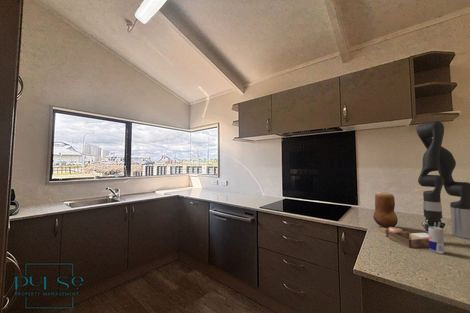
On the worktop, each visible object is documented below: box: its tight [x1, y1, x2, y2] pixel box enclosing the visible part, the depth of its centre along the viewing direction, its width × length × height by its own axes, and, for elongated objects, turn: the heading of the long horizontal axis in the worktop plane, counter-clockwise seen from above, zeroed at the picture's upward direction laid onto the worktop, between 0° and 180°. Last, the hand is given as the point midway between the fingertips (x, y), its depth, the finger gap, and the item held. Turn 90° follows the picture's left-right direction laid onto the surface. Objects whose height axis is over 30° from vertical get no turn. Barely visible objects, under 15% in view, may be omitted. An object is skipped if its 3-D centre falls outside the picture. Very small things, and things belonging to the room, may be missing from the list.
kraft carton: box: [409, 232, 429, 239], centre depth 111 cm, size 9×7×4 cm
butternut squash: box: [372, 191, 399, 229], centre depth 137 cm, size 14×13×25 cm
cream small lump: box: [388, 226, 404, 232], centre depth 122 cm, size 7×7×4 cm
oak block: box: [378, 227, 389, 237], centre depth 123 cm, size 4×4×4 cm
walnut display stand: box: [388, 231, 429, 249], centre depth 110 cm, size 12×12×4 cm
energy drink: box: [427, 226, 445, 255], centre depth 99 cm, size 5×5×12 cm
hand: (434, 239), depth 111 cm, fingers closed
